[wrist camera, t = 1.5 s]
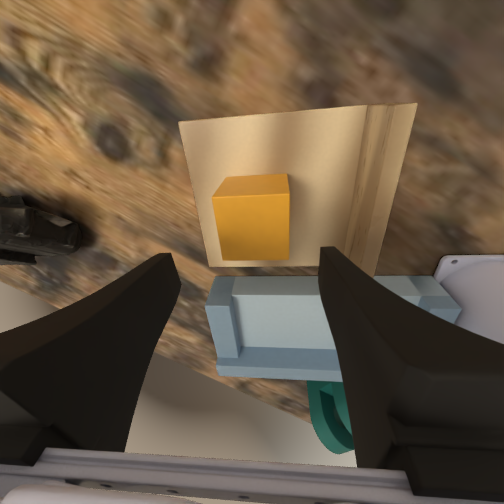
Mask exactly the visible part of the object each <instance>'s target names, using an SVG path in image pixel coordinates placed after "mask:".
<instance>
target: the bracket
mask: <svg viewBox="0 0 504 504" xmlns="http://www.w3.org/2000/svg"><path fill="white" fill-rule="evenodd" d="M307 388H308V398H309V407H310V416H311V421H312V424H313V427H314V430H315V432H316V434H317V436H318V437H319V439H320V441H321V442H322V443H323V444H324V446H325V447H326V448H327V449H329V450H330V451H331V452H333V453H335V454H342V453H345V452H348V451H351V450H354V443H353V437H352V430H351V425H350V419H349V413H348V407H347V402H346V396H345V391H344V386H343V382H335V381H315V380H307Z"/></svg>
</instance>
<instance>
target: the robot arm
mask: <svg viewBox="0 0 504 504" xmlns="http://www.w3.org/2000/svg"><path fill="white" fill-rule="evenodd" d="M453 260H454V261H453ZM452 261H453V262H452ZM433 278H434V279H435V280H436V281H437V282H438V283H439V284H440V285H441V286H442V288H443V289H444V290H445V291H446V292H447V293H448V294H449V295H450V296H451V298H452V299H453V300H454V301H455V302H456V303H457V304H458V305H459V306H460V308H461V309H462V310H461V311H460V313H459V315H458V317H457V318H456V320H455V322H454V324H453V323H450V322H448V321H446V320H444V319H442V318H440V317H438V316H436V315H433V314H431V313H430V312H428V311H426V310H424V309H422V308H420V307H418V306H416V305H414V304H412V303H411V302H409V301H407V300H405V299H404V298H402V297H400V296H399V295H397V294H395V293H394V292H392V291H390V290H389V289H387V288H386V287H384V286H383V285H381V284H380V283H379V282H377V281H376V280H374V279H373V278H372V277H370V276H369V275H368V274H366V273H365V272H364V271H363V270H361V269H360V268H359V267H358V266H356V265H355V264H354V263H353V262H352V261H351V260H349V259H348V258H347V257H346V256H345V255H344V254H343V253H341V252H340V251H339V250H338V249H337V248H336V247H335V246H326V247H320V259H319V272H318V285H319V292H320V297H321V302H322V305H323V308H324V311H325V315H326V318H327V321H328V324H329V327H330V331H331V334H332V337H333V340H334V344H335V347H336V351H337V356H338V360H339V365H340V370H341V375H342V380H343V386H344V391H345V396H346V402H347V407H348V413H349V419H350V425H351V430H352V437H353V443H354V449H355V455H356V462H357V468H355V467H340V466H324V465H309V464H293V463H277V462H261V461H247V460H232V459H216V458H201V457H185V456H170V455H154V454H139V453H124V451H125V447H126V442H127V439H128V434H129V430H130V426H131V422H132V418H133V415H134V411H135V408H136V404H137V401H138V397H139V394H140V390H141V387H142V384H143V381H144V378H145V375H146V372H147V369H148V366H149V363H150V360H151V357H152V354H153V352H154V349H155V347H156V344H157V342H158V340H159V338H160V336H161V334H162V332H163V329H164V327H165V325H166V323H167V321H168V319H169V317H170V315H171V313H172V310H173V308H174V306H175V304H176V301H177V298H178V295H179V292H180V288H181V285H182V284H181V281H180V278H179V276H178V273H177V270H176V267H175V264H174V261H173V258H172V255H171V253H159V254H157V255H155V256H153V257H151V258H150V259H148V260H146V261H145V262H143V263H142V264H140V265H139V266H137V267H136V268H134V269H133V270H131V271H129V272H128V273H126V274H125V275H123V276H122V277H120V278H118V279H117V280H115V281H113V282H112V283H110V284H108V285H107V286H105V287H103V288H102V289H100V290H98V291H97V292H95V293H93V294H91V295H89V296H87V297H85V298H83V299H81V300H79V301H77V302H75V303H73V304H71V305H69V306H67V307H65V308H62V309H60V310H58V311H56V312H53V313H51V314H49V315H47V316H44V317H42V318H40V319H37V320H35V321H32V322H30V323H27V324H24V325H22V326H19V327H16V328H14V329H11V330H8V331H5V332H2V333H0V504H201V503H197V502H193V501H190V500H187V499H183V498H176V497H170V496H163V495H157V494H164V495H176V496H187V497H199V498H210V499H222V500H234V501H245V502H258V503H269V504H504V255H448V256H444V257H443V258H441V260H440V262H439V264H438V267H437V269H436V271H435V274H434V276H433ZM90 488H93V489H90ZM99 489H105V490H99ZM111 490H116V491H111ZM123 491H128V492H123ZM134 492H140V493H134ZM146 493H151V494H146Z"/></svg>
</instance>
